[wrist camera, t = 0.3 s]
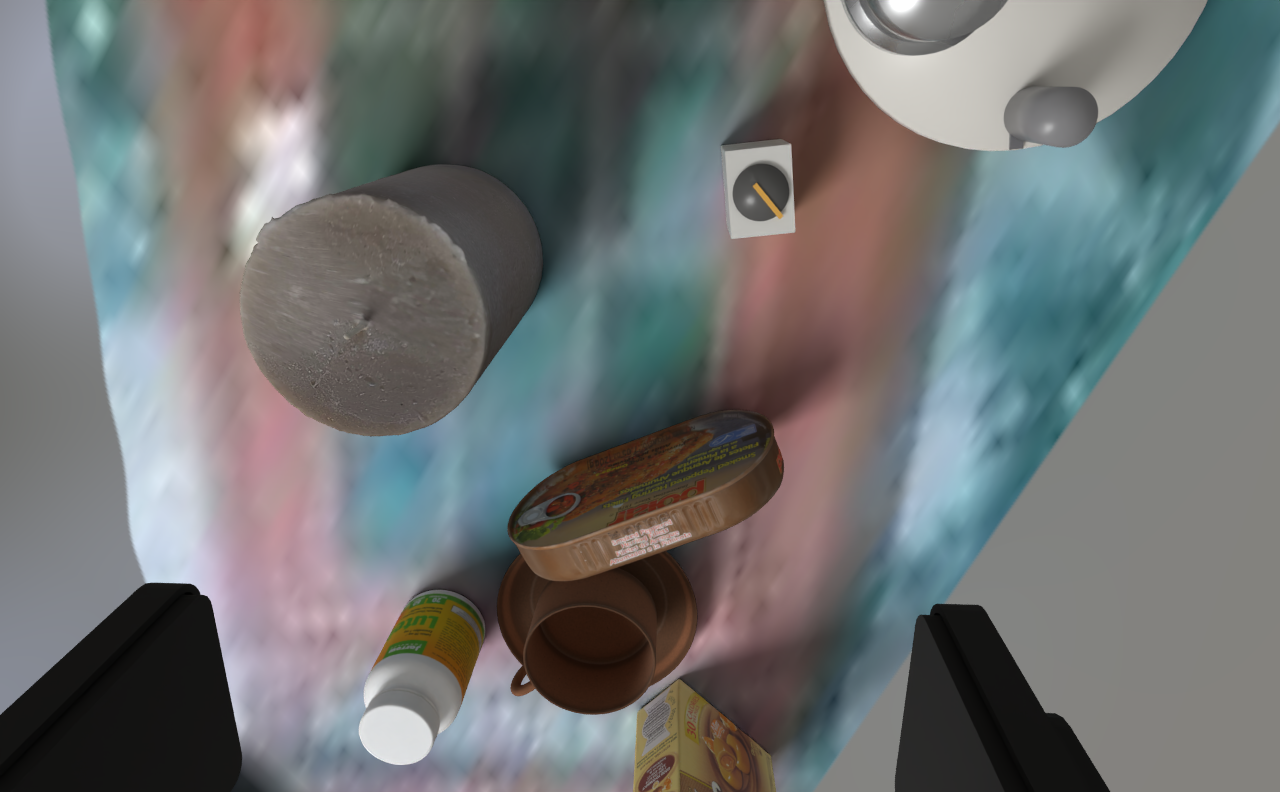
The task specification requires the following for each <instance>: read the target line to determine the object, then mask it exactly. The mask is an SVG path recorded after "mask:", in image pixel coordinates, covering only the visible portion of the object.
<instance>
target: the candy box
mask: <svg viewBox="0 0 1280 792" xmlns="http://www.w3.org/2000/svg"><path fill="white" fill-rule="evenodd" d="M633 792H776V788H775V781H774V775H773V768H772V762H771V756H770V754H768V753H767V752H766V751H764V750H763V749H762V748H761V747H760V746H759V745H758V744H757V743H756V742H754V741H753V740H752V739H751V738H750V737H749V736H747V735H746V734H745V733H743V732H742V731H741V730H740V729H739V728H737V727H736V726H735V725H734V724H733V723H732V722H731V721H730V720H728V719H727V718H726V717H725V716H724V715H723V714H721V713H720V712H719V711H717V710H716V709H715V708H714V707H713V706H712V705H710V704H709V703H708V702H707V701H706V700H705V699H703V698H702V697H701V696H700V695H699V694H697V693H696V692H695V691H694V690H692V689H691V688H690V687H689V686H688V685H686V684H685V683H684V682H683V681H682V680H680V679H678V680H677V681H675V682H674V683H673V684H672V685H670V686H669V687H668V688H667V689H666V690H664V691H663V692H662V693H661V694H659V695H658V696H657V697H656V698H655V699H653V700H652V701H651V702H650V703H648V704H647V705H646V706H644V707H643V708H642V709H641V710H639V711H638V713H637V730H636V747H635V770H634V788H633Z"/></svg>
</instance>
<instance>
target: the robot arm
mask: <svg viewBox="0 0 1280 792" xmlns="http://www.w3.org/2000/svg"><path fill="white" fill-rule="evenodd" d="M241 765H242V752H241V747H240V742H239V737H238V732H237V727H236V722H235V717H234V712H233V707H232V702H231V697H230V692H229V687H228V682H227V677H226V672H225V667H224V662H223V657H222V653H221V648H220V643H219V638H218V633H217V628H216V623H215V618H214V613H213V608H212V604H211V601H210V599H209V598H208V597H207V596H205V595H200V592H199V590H198V589H197V587H196V586H194V585H192V584H181V583H147V584H144V585H143V586H141V587H140V588H139V589H137V590H136V591H135V592H134V593H133V594H132V595H131V596H130V597H129V598H128V599H127V600H125V601H124V602H123V603H122V604H121V605H120V606H119V607H118V608H117V609H115V610H114V611H113V612H112V613H111V614H110V615H109V616H108V617H107V618H106V619H105V620H103V621H102V622H101V623H100V624H99V625H98V626H97V627H96V628H95V629H94V630H93V631H91V632H90V633H89V634H88V635H87V636H86V637H85V638H84V639H83V640H82V641H81V642H79V643H78V644H77V645H76V646H75V647H74V648H73V649H72V650H71V651H70V652H69V653H67V654H66V655H65V656H64V657H63V658H62V659H61V660H60V661H59V662H58V663H56V664H55V665H54V666H53V667H52V668H51V669H50V670H49V671H48V672H47V673H46V674H44V675H43V676H42V677H41V678H40V679H39V680H38V681H37V682H36V683H35V684H34V685H33V686H31V687H30V688H29V689H28V690H27V691H26V692H25V693H24V694H23V695H22V696H20V698H18V699H17V700H16V701H15V702H14V703H13V704H12V705H11V706H10V707H9V708H7V709H6V710H5V711H4V712H3V713H2V714H1V715H0V792H231V790H232V789H233V787H234V785H235V784H236V782H237V780H238V777H239V774H240V770H241ZM895 792H1110V791H1109V789H1108V787H1107V786H1106V784H1105V782H1104V781H1103V779H1102V778H1101V776H1100V774H1099V773H1098V771H1097V769H1096V768H1095V766H1094V765H1093V763H1092V761H1091V760H1090V758H1089V756H1088V755H1087V753H1086V751H1085V750H1084V748H1083V747H1082V745H1081V743H1080V742H1079V740H1078V739H1077V737H1076V735H1075V734H1074V732H1073V730H1072V729H1071V727H1070V726H1069V725H1068V723H1067V722H1066V721H1065V720H1064V718H1063V717H1061V716H1059V715H1057V714H1055V713H1045V712H1044V710H1043V708H1042V706H1041V705H1040V703H1039V701H1038V700H1037V698H1036V696H1035V694H1034V693H1033V691H1032V689H1031V688H1030V686H1029V684H1028V683H1027V681H1026V679H1025V677H1024V676H1023V674H1022V672H1021V671H1020V669H1019V667H1018V666H1017V664H1016V662H1015V660H1014V659H1013V657H1012V655H1011V654H1010V652H1009V650H1008V648H1007V647H1006V645H1005V643H1004V642H1003V640H1002V638H1001V637H1000V635H999V633H998V632H997V630H996V628H995V626H994V625H993V623H992V621H991V620H990V618H989V616H988V614H987V613H986V611H985V610H984V609H983V607H981V606H979V605H960V604H958V605H957V604H935V605H934V606H933V607H932V609H931V612H930V615H919V616H918V618H917V620H916V625H915V632H914V640H913V647H912V655H911V662H910V670H909V677H908V685H907V692H906V700H905V707H904V715H903V723H902V730H901V737H900V745H899V752H898V760H897V768H896V775H895Z"/></svg>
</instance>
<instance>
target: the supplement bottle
mask: <svg viewBox="0 0 1280 792" xmlns="http://www.w3.org/2000/svg"><path fill="white" fill-rule="evenodd" d="M484 637H485V623H484V619H483V617H482V615H481V613H480V611H479V610H478V608H477V607H476V606H475V605H474V604H473V603H472V602H471V601H470V600H468V599H467V598H465V597H464V596H462V595H460V594H458V593H455V592H452V591H447V590H431V591H426V592H423V593H421V594H419V595H417V596H416V597H414V598H413V599H412V600H410V602H409V603H408V604H407V605H406V606H405V608H404V610H403V611H402V613H401V615H400V617H399V619H398V620H397V622H396V624H395V626H394V628H393V630H392V632H391V634H390V635H389V637H388V639H387V641H386V643H385V645H384V647H383V649H382V651H381V653H380V655H379V656H378V658H377V660H376V662H375V664H374V666H373V668H372V670H371V672H370V674H369V676H368V678H367V680H366V683H365V687H364V702H365V706H366V710H365V712H364V715H363V717H362V719H361V721H360V725H359V735H360V739H361V741H362V743H363V745H364V747H365V748H366V749H367V750H368V751H369V752H370V753H371V754H372V755H373V756H375V757H376V758H378V759H380V760H382V761H385V762H387V763H391V764H397V765H405V764H411V763H415V762H418V761H419V760H421V759H423V758H424V757H425V756H426V755H427V754H428V753H429V752H430V750H431V748H432V746H433V744H434V741H435V739H436V737H437V735H438V734H439V733H441V732H443V731H444V730H445V729H446V728H448V727H449V726H450V725H451V723H452V722H453V721H454V719H455V718H456V716H457V714H458V711H459V709H460V707H461V704H462V701H463V698H464V695H465V692H466V689H467V686H468V684H469V681H470V678H471V675H472V672H473V669H474V666H475V664H476V661H477V658H478V655H479V653H480V650H481V647H482V644H483V641H484Z"/></svg>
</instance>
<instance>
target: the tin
mask: <svg viewBox="0 0 1280 792" xmlns="http://www.w3.org/2000/svg"><path fill="white" fill-rule="evenodd" d="M783 472H784V462H783V458H782V455H781V452H780V449H779V447H778V445H777V442H776V440H775V437H774V429H773V426H772V424H771V422H770V421H769V420H768V419H767V418H766V417H765V416H763V415H761V414H759V413H756V412H753V411H748V410H725V411H718V412H713V413H709V414H706V415H702V416H699V417H696V418H693V419H690V420H687V421H685V422H682V423H679V424H676V425H674V426H671V427H668V428H666V429H663V430H661V431H657V432H655V433H652V434H650V435H647V436H644V437H641V438H639V439H636V440H634V441H631V442H628V443H625V444H623V445H620V446H617V447H614V448H611V449H609V450H606V451H603V452H601V453H598V454H595V455H592V456H590V457H587V458H585V459H582V460H579V461H577V462H574V463H572V464H570V465H568V466H566V467H564V468H562V469H561V470H559V471H557V472H555V473H554V474H552V475H550V476H549V477H547V478H546V479H544V480H543V481H542V482H540V483H539V484H538V485H536V486H535V487H534V488H533V489H532V490H531V491H530V492H529V493H528V494H527V495H526V496H525V497H524V498H523V499H522V500H521V501H520V502H519V504H518V505H517V507H516V508H515V509H514V511H513V512H512V514H511V516H510V519H509V523H508V535H509V537H510V539H511V540H512V541H513V542H514V543H515V544H516V546H517V547H518V549H519V551H520V553H521V554H522V556H523V558H524V559H525V561H526V563H527V564H528V566H529V567H530V568H531V570H532V571H533V572H534V573H535V574H537V575H538V576H540V577H542V578H544V579H548V580H552V581H572V580H578V579H583V578H587V577H590V576H593V575H596V574H599V573H602V572H605V571H608V570H611V569H614V568H617V567H620V566H623V565H626V564H629V563H632V562H634V561H637V560H640V559H643V558H646V557H649V556H652V555H655V554H658V553H661V552H664V551H666V550H669V549H672V548H675V547H678V546H681V545H683V544H686V543H689V542H692V541H695V540H697V539H701V538H703V537H706V536H709V535H712V534H715V533H718V532H721V531H723V530H726V529H728V528H730V527H732V526H734V525H736V524H738V523H740V522H742V521H744V520H745V519H747V518H749V517H750V516H752V515H753V514H755V513H756V512H757V511H758V510H760V509H761V508H762V507H763V506H764V505H765V504H766V503H767V502H768V501H769V500H770V499H771V498H772V497H773V496H774V494H775V493H776V491H777V490H778V488H779V487H780V485H781V482H782V479H783Z"/></svg>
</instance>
